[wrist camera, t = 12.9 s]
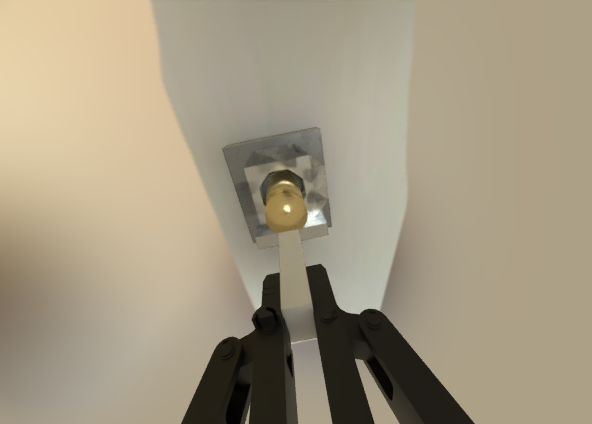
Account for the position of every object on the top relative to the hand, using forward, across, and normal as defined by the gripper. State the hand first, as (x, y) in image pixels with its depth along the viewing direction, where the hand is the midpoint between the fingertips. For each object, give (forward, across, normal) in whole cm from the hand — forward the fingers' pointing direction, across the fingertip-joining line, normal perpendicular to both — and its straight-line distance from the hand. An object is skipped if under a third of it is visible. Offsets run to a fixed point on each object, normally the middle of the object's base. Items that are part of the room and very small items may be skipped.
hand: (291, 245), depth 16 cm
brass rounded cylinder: (+16, 0, -1) cm, 16 cm away
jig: (+16, 0, -1) cm, 16 cm away
